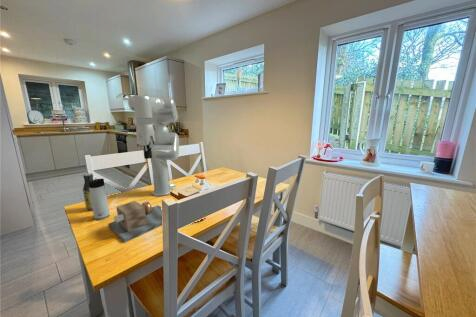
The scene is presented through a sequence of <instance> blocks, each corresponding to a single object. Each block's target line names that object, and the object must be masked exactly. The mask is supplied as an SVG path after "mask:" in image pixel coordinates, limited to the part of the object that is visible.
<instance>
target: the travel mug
mask: <svg viewBox="0 0 476 317" xmlns="http://www.w3.org/2000/svg"><path fill="white" fill-rule="evenodd" d="M88 184H89V191H90V197H91V202H92V208H93V210H92V213H93V218H94V220H96V221H103V220H106V219H107V218H108V217H110V209H109V204H108V202H109V201H108V197H107V192H106V191H107V190H106V185H105V179H104V178H96V179H93V181H89V182H88Z"/></svg>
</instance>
